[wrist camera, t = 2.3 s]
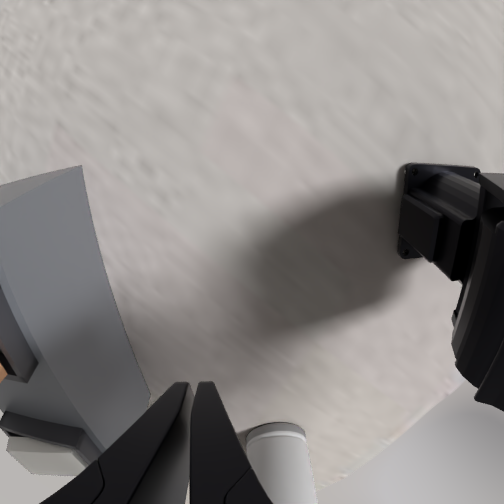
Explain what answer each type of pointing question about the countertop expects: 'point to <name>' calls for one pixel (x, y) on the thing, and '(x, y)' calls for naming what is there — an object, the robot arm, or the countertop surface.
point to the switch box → (61, 322)
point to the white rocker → (45, 457)
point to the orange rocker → (2, 373)
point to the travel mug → (282, 463)
